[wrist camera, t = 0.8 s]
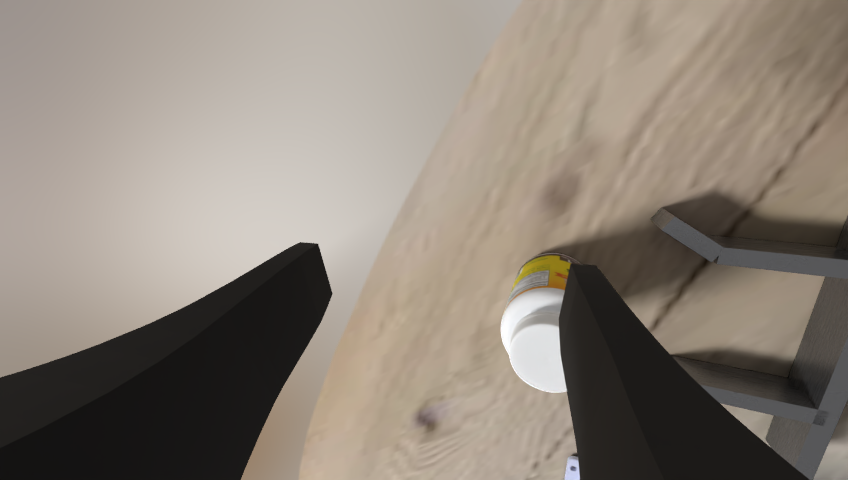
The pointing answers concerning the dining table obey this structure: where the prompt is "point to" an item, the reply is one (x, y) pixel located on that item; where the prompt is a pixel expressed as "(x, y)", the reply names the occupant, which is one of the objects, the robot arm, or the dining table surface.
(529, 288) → the supplement bottle
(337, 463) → the dining table surface
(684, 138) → the dining table surface
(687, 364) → the stop cradle
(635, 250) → the dining table surface
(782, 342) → the dining table surface
